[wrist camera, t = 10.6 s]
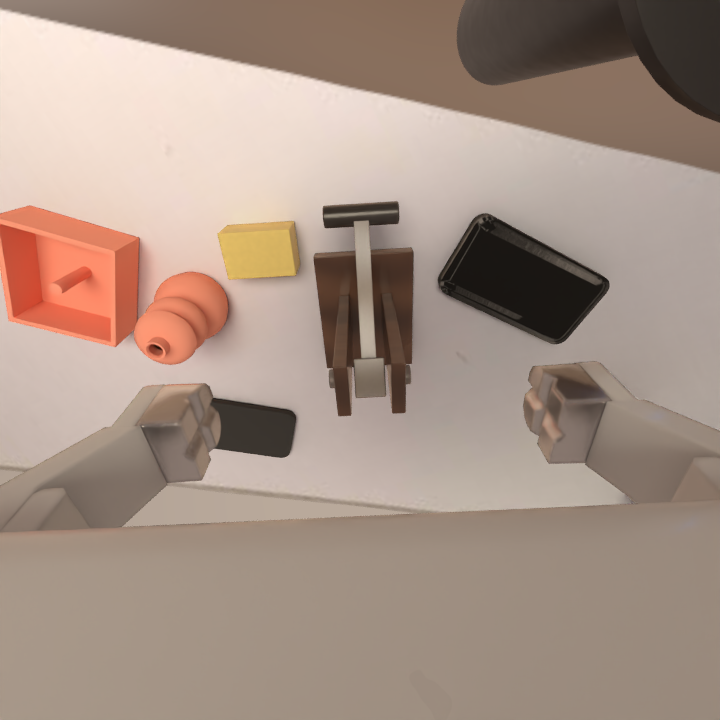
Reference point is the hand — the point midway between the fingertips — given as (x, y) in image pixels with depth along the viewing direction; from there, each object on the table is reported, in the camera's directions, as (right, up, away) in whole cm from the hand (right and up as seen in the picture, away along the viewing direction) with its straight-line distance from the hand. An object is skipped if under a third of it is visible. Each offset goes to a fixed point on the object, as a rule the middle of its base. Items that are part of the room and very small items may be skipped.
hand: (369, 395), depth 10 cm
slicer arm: (0, +5, +20) cm, 21 cm away
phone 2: (+15, +9, +28) cm, 33 cm away
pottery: (-22, +8, +28) cm, 36 cm away
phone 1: (-16, -7, +37) cm, 41 cm away
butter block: (-9, +11, +26) cm, 30 cm away
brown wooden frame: (0, +6, +29) cm, 30 cm away
